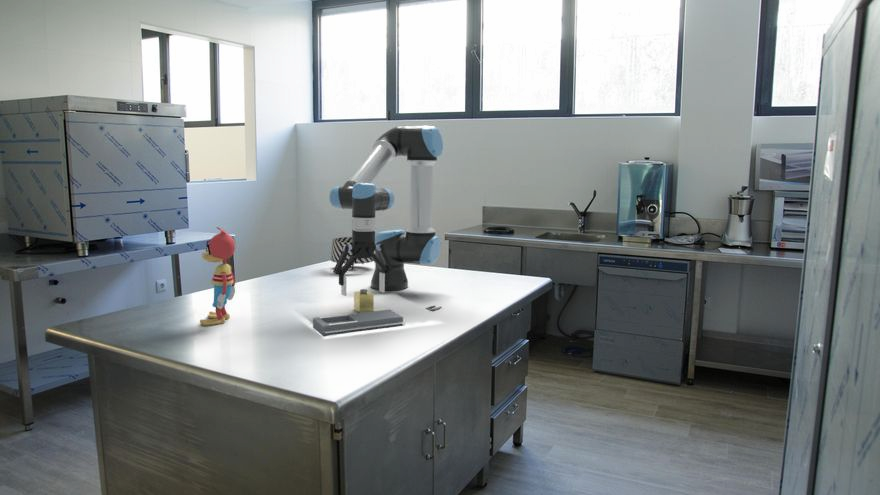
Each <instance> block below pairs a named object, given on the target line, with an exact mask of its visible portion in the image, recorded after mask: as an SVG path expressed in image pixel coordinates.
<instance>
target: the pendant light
mask: <svg viewBox="0 0 880 495" xmlns="http://www.w3.org/2000/svg"><path fill="white" fill-rule="evenodd" d="M351 210H352V211H351V215H352V216H351V218H353V209H351ZM351 230H352V232H353V231H354V229H351ZM352 232H351V233H352ZM331 240H332V243H331V253H330V254H331V256H330V262H332V263H336V264H337V262H338V259H339V257H340V255H341V253H342V249H343V245H347V246H352V236H345V237H344V236H343V237H342V236H341V237H334V238H332V239H331ZM352 253H353V251H352V250H350V252H348V255H347V257H346V259H345V261H344V263H343V265H344V264H345V263H346V262H347V261H348V259H349V258H350V256H351V255H352ZM373 253H374V254H375V251H374V252H373ZM372 262H374V261H373V260H372V259H371V258H370V257H369V258H363V259H360V258H358V259H357V260H355V262H354V263H353V264H352V265H351V270H354V269H355V265H356V264H358V265H359V264H362V265H364V264H368V263H372Z"/></svg>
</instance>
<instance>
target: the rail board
mask: <svg viewBox="0 0 880 495" xmlns="http://www.w3.org/2000/svg"><path fill="white" fill-rule="evenodd" d="M401 322H404V316H402V315H400V314H398V313H397V312H395V311H394V310H391V309H382V310H376V311H375V310H374V311H371V312H363V313H359V312H356V313H347V314H346V313H345V314H336V315H328V316H327V315H326V316H320V317H313V318H312V328H313V329H314V330H315V331H316V332H317V333H319V334H320V335H322V337H327V336H334V335H342V334H351V333H357V332H366V331H373V330H382V329H389V328H398V327H403V326H404V324H403V323H401ZM393 323H396V324H393ZM384 324H386V325H384ZM387 324H388V325H387ZM377 325H379V326H377ZM370 326H371V327H370ZM361 327H363V328H361ZM351 328H355V329H351ZM356 328H357V329H356ZM344 329H345V330H344ZM346 329H347V330H346ZM348 329H349V330H348ZM336 330H338V331H336ZM339 330H340V331H339ZM329 331H332V332H329Z"/></svg>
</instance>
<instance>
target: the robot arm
mask: <svg viewBox="0 0 880 495" xmlns="http://www.w3.org/2000/svg"><path fill="white" fill-rule="evenodd" d="M443 149H444V144H443V137H442V134H441V132H440V130H439V129H438V128H437V127H436V126H433V125H398V126H394V127H393V128H391V129H389V130H387V131H386V132H384V133H383V134H381V136H379V137H378V138H376V140H375V141H374V143H373V145H372V150H371V151H370V152H369V153H368V155H367V156H366V157H365V158H364V159H363V161H362V162H361V163H360V165H359V166H358V167H357V169H355V171H354V172H353V173H352V174H351V175H350V177H349V178H348V179H347V180H346V182H345V183H344V184H343V186H341V185H339V186H335V187H333V188H331V190H330V193H329V202H330V204H331V206H332V207H333V208H338V209H343V210H344V209H346V210H347V209H348V210H352V209H353V214H352V215H353V218H352V217H351V218H352V219H351V223H352V224H351V229H352V230H353V232H351V237H352V246H347V245H343V249H342V253H341V255H340V257H339V259H338V262H337V263H336V264H335V266H334V268H333V270H332V273H333V274H335V275H338V285H339V286H340V290H341V292H340V293H341V295H342V296H344V297H346V296H347V275H346V273H347V272H348V271H349V269H350V268H352V264H353V263H354V262H355V260H357V259H358V258H360V259H363V258H369V257H370V258H371V259H372V260H373V262H374V263H375V264H374V267H375V269H374V271H373V273H372V274H373V275H372V278H371V281H370V287H371V288H372V289H375V290H379V292H381V293H384V294H385V291H400V290H404V289H407V288H408V287H409V280H408V277H407V273H406V271H405V264H413V265H421V266H424V265H425V266H426V265H427V266H431V265H433V264H434V263H435V262H436V261H437V259H439V256H440V252H441V245H442V242H441V238H440V237H439V236H437V235H436V229H434V227H433V181H434V180H433V177H434V174H433V173H434V172H433V171H434V165H435V164H436V162H438V161H437V160H438V158H439V157H441V155H443ZM401 156H403V157H406V161H407V163H408V164H409V165H410V196H409V197H410V198H409V200H410V202H409V206H410V207H409V209H410V211H409V212H410V213H409V227H408V228H407V229H406V231H405V230H404V229H391V230H384V231H379V232H377V233H376V231H375V229H376V212H378V211H383V212H384V211H387V210H389V209H391V208H392V207H393V205H394V204H395V196H394V193H393V192H392V190H390V189H389V188H385V187H380V188H376V184H375V183H373V182H375V180H376V178H377V177H378V176H379V175H380V173H381V172H382V171H383V169H384V168H385V167H386V165H387V164H388V163H389V162H391V161H393V160H395V158H396V157H401ZM350 250H352V251H353V253H352V255H351V256H350V258H349V259H348V261H347V262H346V263H345V264H344V261H345V259H346V257H347V255H348V252H350ZM373 252H374V253H373Z"/></svg>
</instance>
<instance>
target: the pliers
mask: <svg viewBox="0 0 880 495" xmlns="http://www.w3.org/2000/svg"><path fill="white" fill-rule="evenodd" d="M440 308H441V309H442V308H443V307H442V306H438V307H436V305H431V306H428V307H425V308H424V309H426V310H427V311H429V312H431V311H432V312H436V310H437V311H439V310H441V309H440Z"/></svg>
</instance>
